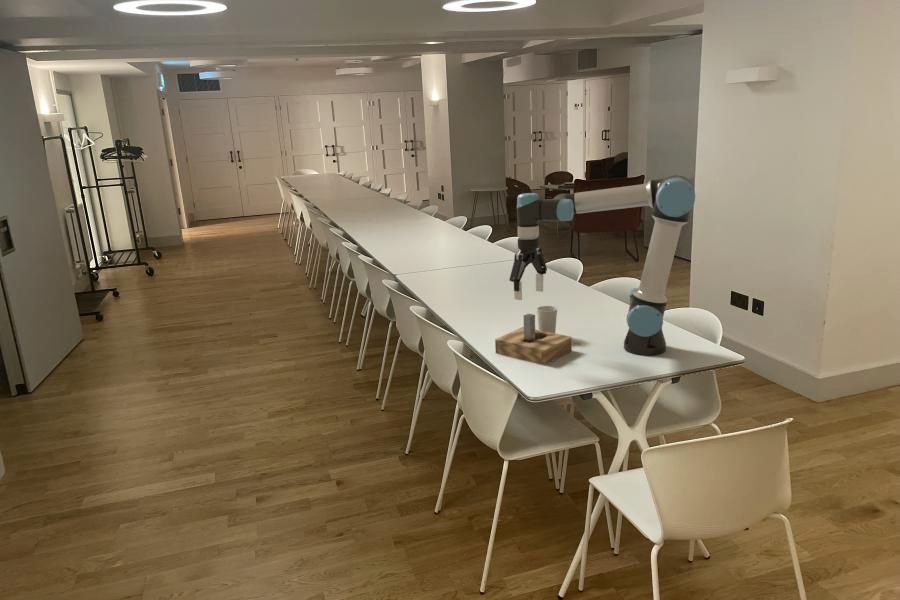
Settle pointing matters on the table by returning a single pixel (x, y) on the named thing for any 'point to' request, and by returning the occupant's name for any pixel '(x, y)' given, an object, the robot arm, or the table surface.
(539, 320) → the cup
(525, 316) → the stud
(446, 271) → the table surface
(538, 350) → the keyhole box
